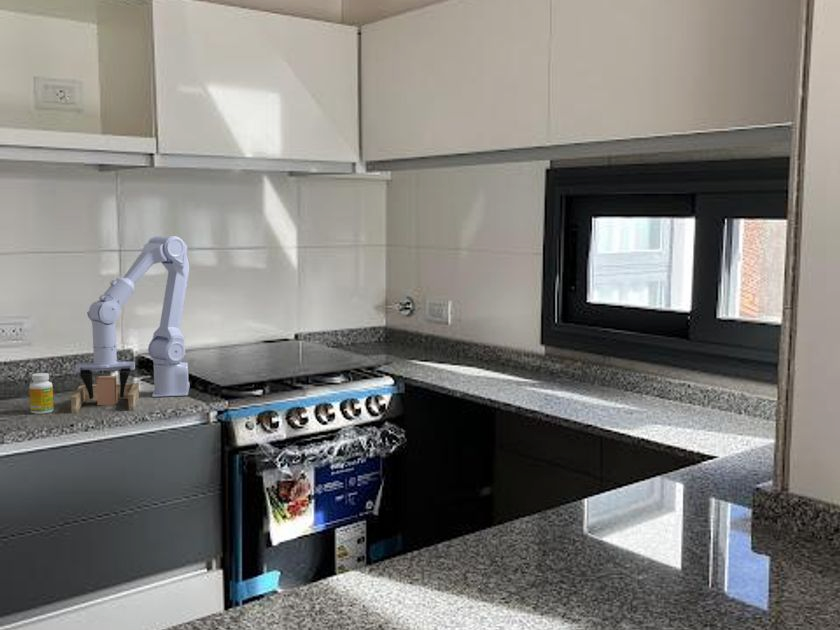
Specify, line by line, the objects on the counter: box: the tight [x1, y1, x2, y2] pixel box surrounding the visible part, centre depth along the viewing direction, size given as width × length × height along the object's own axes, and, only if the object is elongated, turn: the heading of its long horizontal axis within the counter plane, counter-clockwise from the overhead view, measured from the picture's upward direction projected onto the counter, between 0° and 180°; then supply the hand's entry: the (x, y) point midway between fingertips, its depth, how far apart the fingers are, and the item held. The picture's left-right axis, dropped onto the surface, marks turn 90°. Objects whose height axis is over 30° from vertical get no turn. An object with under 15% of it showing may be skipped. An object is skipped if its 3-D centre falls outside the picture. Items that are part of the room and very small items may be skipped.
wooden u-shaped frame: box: [70, 382, 140, 414], centre depth 230 cm, size 15×16×4 cm
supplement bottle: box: [28, 372, 54, 415], centre depth 221 cm, size 5×5×10 cm
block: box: [96, 375, 118, 406], centre depth 231 cm, size 4×4×7 cm
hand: (106, 397), depth 230 cm, fingers open, 7 cm apart
